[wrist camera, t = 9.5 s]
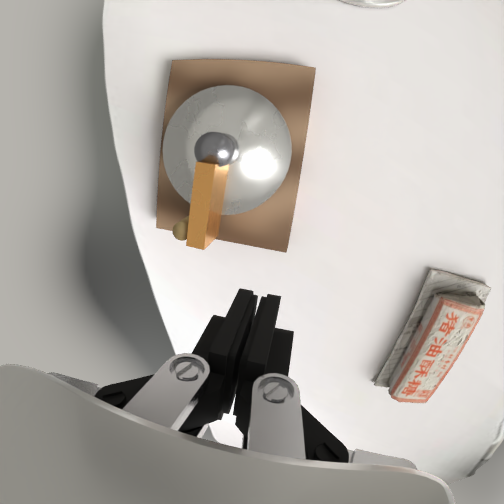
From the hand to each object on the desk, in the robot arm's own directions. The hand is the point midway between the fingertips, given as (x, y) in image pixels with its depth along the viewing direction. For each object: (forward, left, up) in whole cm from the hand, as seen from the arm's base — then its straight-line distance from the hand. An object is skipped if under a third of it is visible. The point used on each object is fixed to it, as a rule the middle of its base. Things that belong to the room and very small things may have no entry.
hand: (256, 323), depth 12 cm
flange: (-5, -7, -17) cm, 19 cm away
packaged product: (+12, +21, -20) cm, 31 cm away
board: (-6, -7, -19) cm, 21 cm away
